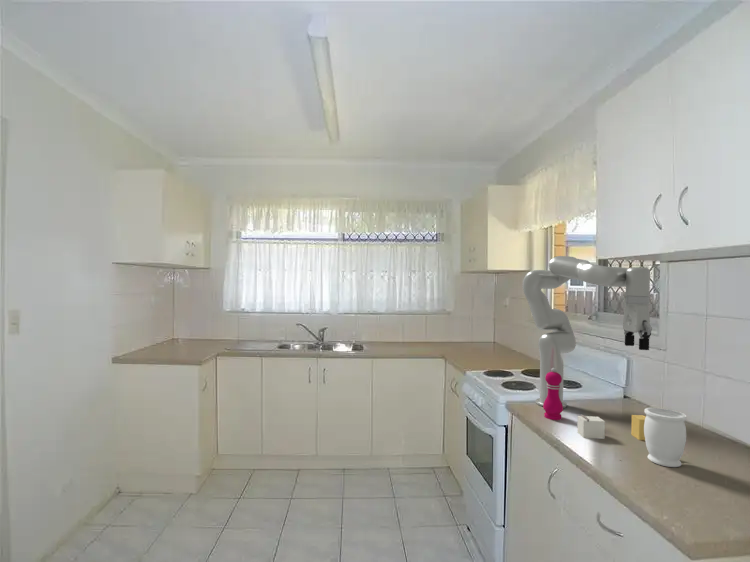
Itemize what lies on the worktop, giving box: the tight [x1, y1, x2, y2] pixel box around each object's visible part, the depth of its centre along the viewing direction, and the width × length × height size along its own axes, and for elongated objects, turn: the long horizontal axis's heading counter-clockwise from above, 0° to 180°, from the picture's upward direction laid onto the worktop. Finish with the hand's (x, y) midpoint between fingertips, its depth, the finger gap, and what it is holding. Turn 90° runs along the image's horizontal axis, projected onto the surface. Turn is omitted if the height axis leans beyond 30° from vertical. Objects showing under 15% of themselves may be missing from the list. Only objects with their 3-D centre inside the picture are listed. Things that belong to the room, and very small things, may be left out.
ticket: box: [577, 414, 606, 440], centre depth 149 cm, size 5×7×6 cm
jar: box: [644, 407, 687, 468], centre depth 129 cm, size 11×10×15 cm
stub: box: [631, 414, 646, 441], centre depth 148 cm, size 5×4×7 cm
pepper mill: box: [542, 368, 564, 421], centre depth 168 cm, size 7×7×20 cm
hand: (636, 347), depth 157 cm, fingers open, 9 cm apart
